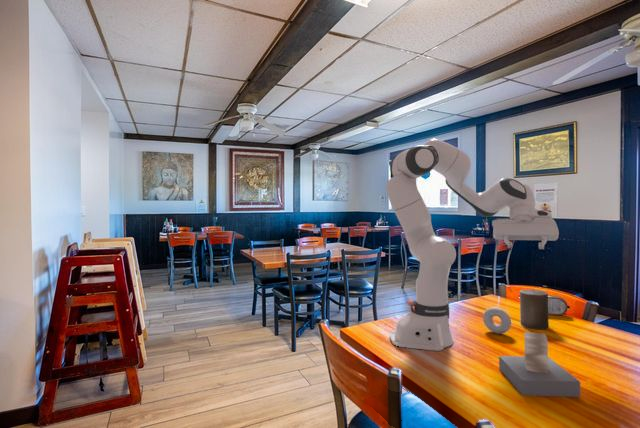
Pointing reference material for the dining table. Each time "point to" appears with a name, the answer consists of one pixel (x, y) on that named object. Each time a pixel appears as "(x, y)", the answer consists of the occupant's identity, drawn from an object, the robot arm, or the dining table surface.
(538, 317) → the pillar candle
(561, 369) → the grey plinth
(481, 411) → the dining table surface
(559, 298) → the tin
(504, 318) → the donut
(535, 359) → the grey upright block
